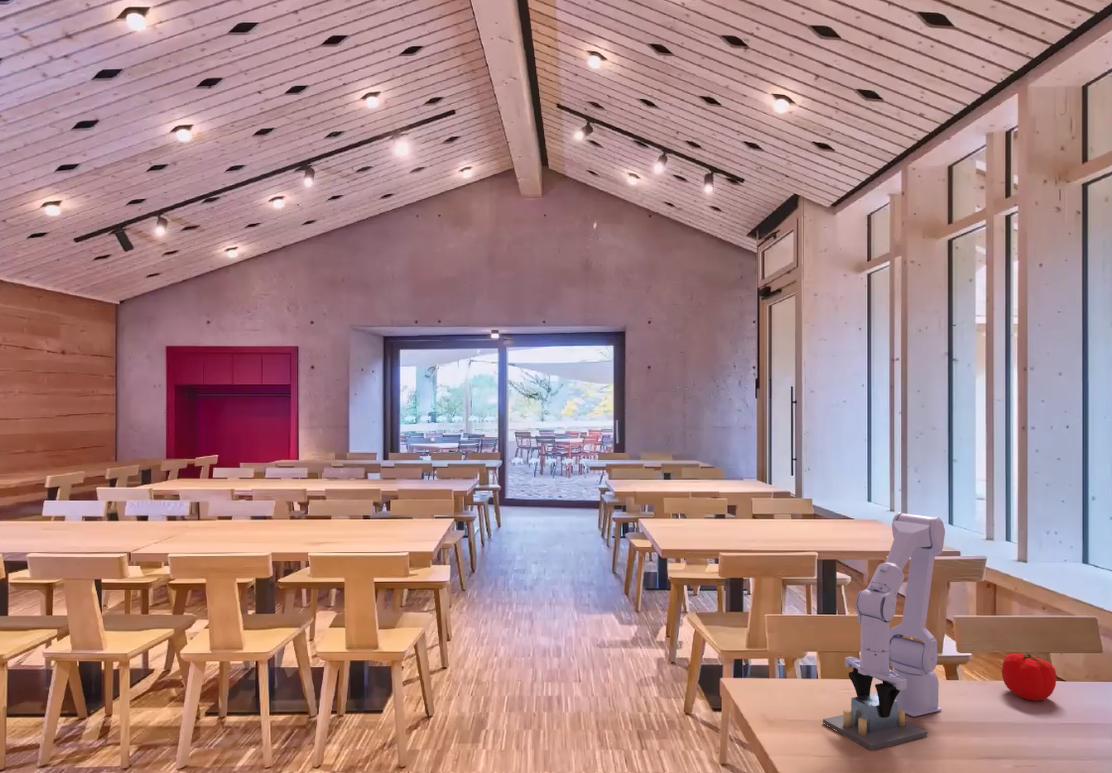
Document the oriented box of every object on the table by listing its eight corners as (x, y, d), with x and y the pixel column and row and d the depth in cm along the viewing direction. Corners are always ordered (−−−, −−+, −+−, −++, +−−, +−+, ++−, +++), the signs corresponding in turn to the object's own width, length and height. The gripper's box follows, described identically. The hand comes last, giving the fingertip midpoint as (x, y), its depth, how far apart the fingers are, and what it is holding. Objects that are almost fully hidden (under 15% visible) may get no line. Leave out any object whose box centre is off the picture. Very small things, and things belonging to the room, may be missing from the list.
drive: (878, 717, 159) (878, 692, 160) (897, 727, 155) (897, 701, 155) (851, 723, 156) (851, 697, 156) (869, 733, 152) (870, 707, 152)
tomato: (1004, 700, 172) (1004, 657, 172) (999, 682, 184) (999, 641, 184) (1061, 711, 167) (1061, 665, 167) (1052, 691, 178) (1053, 649, 179)
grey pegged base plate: (876, 711, 165) (876, 694, 165) (927, 736, 153) (927, 717, 153) (822, 723, 158) (823, 705, 158) (871, 750, 146) (871, 730, 146)
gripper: (835, 639, 161) (834, 701, 161) (889, 661, 148) (888, 728, 147) (858, 635, 164) (857, 696, 163) (914, 656, 150) (913, 723, 150)
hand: (874, 711), depth 156 cm, fingers closed on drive, 5 cm apart
